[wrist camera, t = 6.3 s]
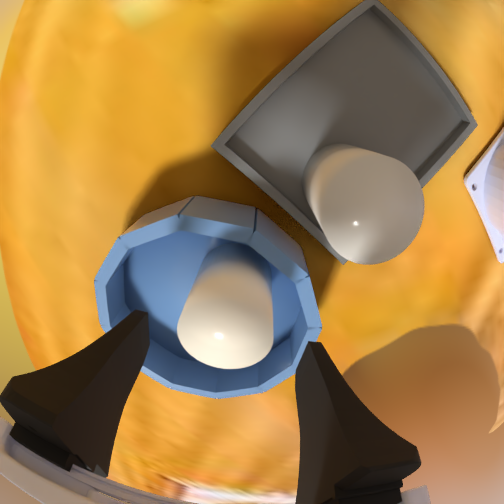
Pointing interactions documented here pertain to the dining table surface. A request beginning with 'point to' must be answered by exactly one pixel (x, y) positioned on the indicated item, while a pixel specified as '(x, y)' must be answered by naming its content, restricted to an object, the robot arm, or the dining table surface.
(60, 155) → the dining table surface
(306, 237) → the dining table surface
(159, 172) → the dining table surface
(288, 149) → the tray
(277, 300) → the bowl
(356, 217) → the cylinder
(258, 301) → the white rounded capsule
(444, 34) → the dining table surface
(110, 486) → the robot arm
